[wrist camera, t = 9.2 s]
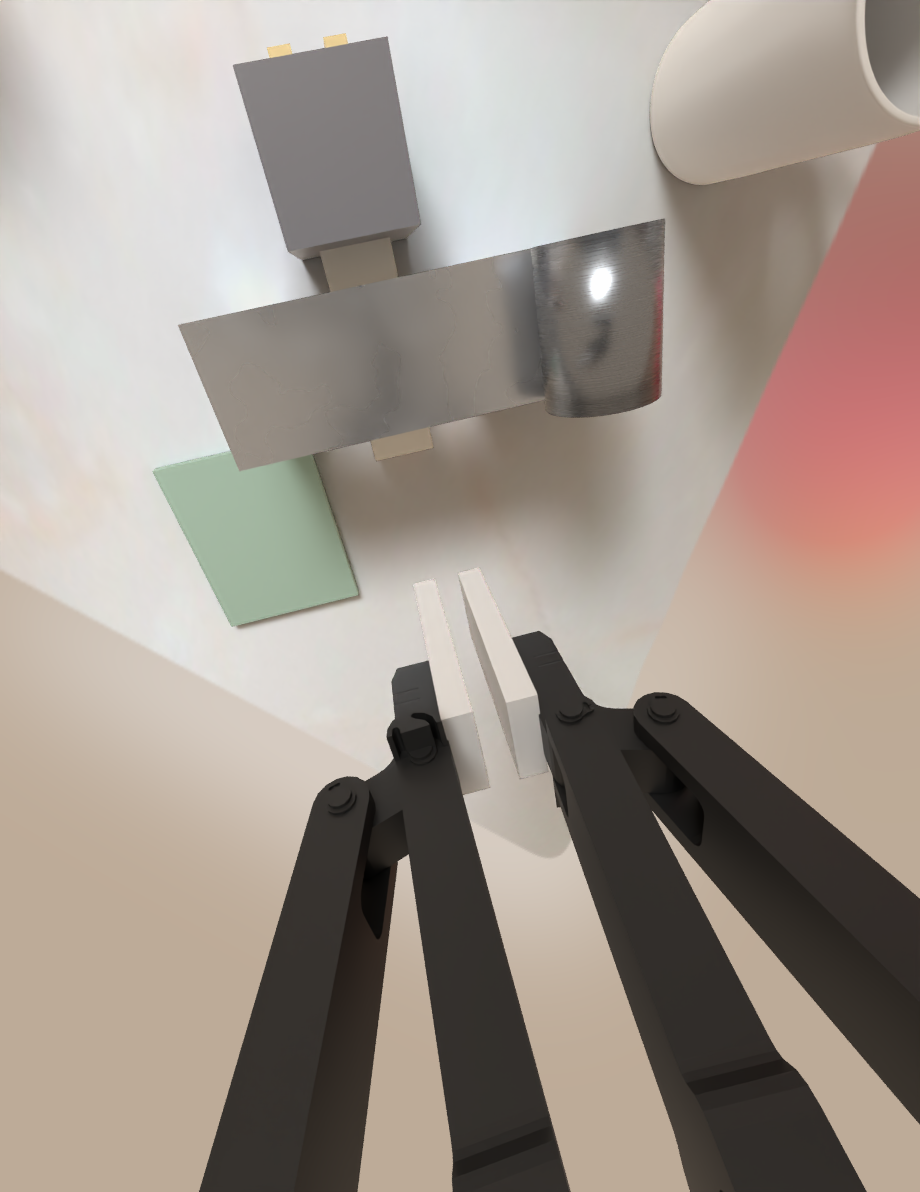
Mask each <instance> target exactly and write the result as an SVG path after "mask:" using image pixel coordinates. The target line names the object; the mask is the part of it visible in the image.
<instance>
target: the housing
mask: <svg viewBox="0 0 920 1192" xmlns="http://www.w3.org/2000/svg"><path fill="white" fill-rule="evenodd" d="M664 240H665V219H661V220H656V221H651V222H646V223H641V224H637V225H632V226H627V227H623V228H618V229H614V230H609V231H605V232H600V233H595V234H591V235H586V236H582V237H577V238H573V239H568V240H564V241H559V242H555V243H551V244H546V245H542V246H538V247H533V248H531V249H526V250H522V251H517V252H513V253H508V254H503V255H499V256H494V257H490V258H485V259H480V260H476V261H471V262H467V263H462V264H457V265H453V266H448V267H443V268H439V269H434V270H430V271H425V272H420V273H416V274H411V275H407V276H402V277H397V278H393V279H388V280H384V281H379V282H374V283H370V284H365V285H360V286H356V287H351V288H347V289H342V290H337V291H333V292H328V293H324V294H319V295H314V296H310V297H305V298H301V299H296V300H291V301H287V302H282V303H277V304H273V305H268V306H264V307H259V308H254V309H250V310H245V311H241V312H236V313H231V314H227V315H222V316H217V317H213V318H208V319H204V320H199V321H194V322H190V323H185V324H181V325H178V326H179V329H180V331H181V333H182V336H183V338H184V341H185V343H186V345H187V348H188V350H189V353H190V355H191V357H192V360H193V362H194V364H195V367H196V369H197V372H198V374H199V376H200V379H201V381H202V384H203V386H204V388H205V391H206V393H207V395H208V398H209V400H210V403H211V405H212V407H213V410H214V412H215V415H216V417H217V419H218V422H219V424H220V426H221V429H222V431H223V434H224V436H225V438H226V441H227V443H228V446H229V448H230V450H231V453H232V455H233V457H234V460H235V462H236V465H237V467H238V469H239V471H243V470H248V469H252V468H256V467H260V466H265V465H269V464H273V463H277V462H282V461H286V460H290V459H295V458H299V457H303V456H307V455H312V454H316V453H320V452H324V451H329V450H333V449H337V448H342V447H346V446H350V445H354V444H359V443H363V442H367V441H371V440H376V439H380V438H384V437H389V436H393V435H397V434H401V433H406V432H410V431H414V430H418V429H423V428H427V427H431V426H436V425H440V424H444V423H448V422H453V421H457V420H461V419H465V418H470V417H474V416H478V415H483V414H487V413H491V412H495V411H500V410H504V409H508V408H512V407H517V406H521V405H525V404H530V403H534V402H538V401H542V400H545V407H546V411H547V412H548V413H549V414H552V415H555V416H560V417H595V416H604V415H611V414H616V413H621V412H626V411H630V410H634V409H637V408H640V407H643V406H646V405H648V404H650V403H653V402H654V401H656V400H657V399H659V398H660V397H661V394H662V343H663V292H664Z"/></svg>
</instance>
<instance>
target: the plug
mask: <svg viewBox="0 0 920 1192" xmlns="http://www.w3.org/2000/svg"><path fill="white" fill-rule="evenodd" d="M323 39H324V47H325V48H322V49H317V50H311V51H306V52H301V53H295V54H292V51H291V47H290V44H285V45H279V46H274V47H268V48H267V50H268V53H269V57H270V58H268V59H263V60H257V61H252V62H246V63H241V64H235V65H233V68H234V71H235V75H236V78H237V81H238V85H239V88H240V91H241V95H242V98H243V102H244V105H245V108H246V112H247V115H248V118H249V122H250V125H251V129H252V132H253V135H254V139H255V142H256V145H257V149H258V152H259V156H260V159H261V162H262V166H263V169H264V172H265V176H266V179H267V183H268V186H269V189H270V193H271V196H272V199H273V203H274V206H275V210H276V213H277V216H278V220H279V223H280V226H281V230H282V233H283V237H284V240H285V243H286V247H287V250H288V252H289V253H291V254H293V255H294V256H296V257H297V258H299V259H301V260H305V259H310V258H315V257H319V256H321V259H322V263H323V267H324V271H325V274H326V278H327V282H328V285H329V289H330V292H333V291H337V290H342V289H347V288H351V287H356V286H360V285H365V284H370V283H374V282H379V281H384V280H388V279H393V278H397V277H398V274H397V269H396V264H395V259H394V255H393V250H392V245H391V242H392V241H396V240H401V239H406V238H408V237H409V236H410V235H411V234H412V233H413V232H414V231H415V230H416V229H417V228H418V227H419V226H420V225H421V221H420V216H419V210H418V204H417V199H416V193H415V188H414V182H413V177H412V171H411V165H410V160H409V154H408V149H407V143H406V138H405V132H404V126H403V121H402V115H401V110H400V104H399V98H398V93H397V87H396V82H395V76H394V71H393V65H392V59H391V54H390V48H389V43H388V37H382V38H377V39H371V40H366V41H360V42H355V43H349V44H348V42H347V37H346V33H345V34H339V35H334V36H328V37H323ZM371 445H372V449H373V452H374V456H375V460H376V461H380V460H384V459H388V458H393V457H397V456H401V455H406V454H410V453H414V452H419V451H423V450H427V449H431V448H434V447H433V443H432V438H431V433H430V428H429V427H427V428H423V429H418V430H414V431H410V432H406V433H401V434H397V435H393V436H389V437H384V438H380V439H376V440H371Z"/></svg>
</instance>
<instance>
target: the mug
mask: <svg viewBox="0 0 920 1192" xmlns="http://www.w3.org/2000/svg"><path fill="white" fill-rule="evenodd" d="M650 124H651V132H652V137H653V141H654V145H655V148H656V150H657V153H658V155H659V157H660V159H661V161H662V162H663V164H664V165H665V167H666V168H667V169H668V170H669V171H670V172H671V173H672V174H673V175H674V176H675V177H677V178H678V179H680V180H682V181H684V182H687V183H690V184H695V185H707V184H713V183H717V182H722V181H726V180H731V179H735V178H740V177H744V176H749V175H752V174H756V173H760V172H764V171H768V170H772V169H775V168H779V167H783V166H787V165H791V164H795V163H799V162H803V161H807V160H811V159H815V158H819V157H823V156H827V155H831V154H835V153H839V152H843V151H847V150H851V149H855V148H859V147H863V146H867V145H871V144H875V143H879V142H883V141H887V140H890V139H894V138H897V137H901V136H904V135H907V134H911V133H914V132H917V131H920V0H709V1H708V2H707V3H706V4H705V5H704V6H703V7H701V8H700V9H699V10H698V11H697V12H696V13H695V14H694V15H692V16H691V17H690V18H689V19H688V20H687V21H686V22H685V23H684V24H683V25H682V27H681V28H680V29H679V30H678V32H677V33H676V34H675V36H674V37H673V39H672V40H671V42H670V43H669V45H668V47H667V49H666V51H665V53H664V55H663V57H662V59H661V61H660V64H659V67H658V69H657V73H656V76H655V79H654V84H653V88H652V94H651V103H650Z"/></svg>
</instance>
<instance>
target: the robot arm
mask: <svg viewBox="0 0 920 1192" xmlns="http://www.w3.org/2000/svg"><path fill="white" fill-rule="evenodd" d="M458 576H459V581H460V586H461V590H462V595H463V600H464V604H465V609H466V614H467V619H468V623H469V628H470V633H471V637H472V640H473V643H474V646H475V649H476V652H477V655H478V658H479V660H480V663H481V666H482V669H483V672H484V675H485V678H486V681H487V684H488V687H489V690H490V693H491V695H492V698H493V701H494V704H495V707H496V710H497V713H498V716H499V719H500V722H501V725H502V728H503V731H504V733H505V736H506V739H507V742H508V745H509V748H510V751H511V754H512V757H513V760H514V763H515V766H516V769H517V771H518V774H519V777H520V779H523V778H527V777H530V776H534V775H538V774H541V773H545V772H548V766H547V763H548V765H549V767H550V770H551V772H552V775H553V782H554V789H555V797H556V804H557V807H561V809H562V812H563V815H564V818H565V820H566V823H567V826H568V829H569V832H570V835H571V838H572V841H573V843H574V846H575V849H576V852H577V855H578V857H579V861H580V864H581V866H582V869H583V872H584V875H585V878H586V881H587V884H588V886H589V889H590V892H591V895H592V898H593V901H594V904H595V907H596V909H597V912H598V915H599V918H600V921H601V924H602V926H603V929H604V932H605V935H606V938H607V941H608V944H609V947H610V950H611V952H612V955H613V958H614V961H615V964H616V967H617V970H618V972H619V975H620V978H621V981H622V984H623V987H624V990H625V993H626V995H627V998H628V1001H629V1004H630V1007H631V1010H632V1012H633V1016H634V1018H635V1021H636V1024H637V1027H638V1030H639V1033H640V1036H641V1039H642V1041H643V1044H644V1047H645V1050H646V1053H647V1056H648V1059H649V1061H650V1064H651V1067H652V1070H653V1073H654V1076H655V1079H656V1082H657V1084H658V1087H659V1090H660V1093H661V1096H662V1099H663V1102H664V1104H665V1107H666V1110H667V1113H668V1116H669V1119H670V1122H671V1125H672V1127H673V1131H674V1134H675V1137H676V1141H677V1144H678V1149H679V1152H680V1157H681V1161H682V1165H683V1169H684V1173H685V1176H686V1179H687V1183H688V1186H689V1189H690V1192H866V1190H865V1188H864V1186H863V1184H862V1182H861V1180H860V1179H859V1177H858V1175H857V1173H856V1171H855V1169H854V1167H853V1166H852V1164H851V1162H850V1160H849V1158H848V1156H847V1154H846V1153H845V1151H844V1149H843V1147H842V1145H841V1143H840V1141H839V1139H838V1138H837V1136H836V1134H835V1132H834V1130H833V1128H832V1126H831V1125H830V1123H829V1121H828V1119H827V1117H826V1115H825V1113H824V1112H823V1110H822V1108H821V1106H820V1104H819V1103H818V1101H817V1099H816V1098H815V1096H814V1094H813V1093H812V1091H811V1089H810V1088H809V1086H808V1084H807V1083H806V1082H805V1081H804V1079H803V1078H802V1076H801V1075H800V1074H799V1072H798V1071H797V1070H796V1069H795V1068H794V1067H792V1066H791V1065H790V1064H789V1063H788V1062H786V1061H785V1060H784V1059H783V1058H782V1057H781V1055H780V1054H779V1053H778V1052H777V1050H776V1048H775V1047H774V1045H773V1043H772V1042H771V1040H770V1038H769V1036H768V1034H767V1032H766V1030H765V1028H764V1026H763V1024H762V1022H761V1020H760V1018H759V1017H758V1015H757V1013H756V1011H755V1009H754V1007H753V1005H752V1003H751V1001H750V1000H749V997H748V995H747V993H746V992H745V990H744V988H743V986H742V984H741V982H740V980H739V978H738V976H737V974H736V972H735V970H734V968H733V966H732V964H731V963H730V961H729V959H728V957H727V955H726V953H725V951H724V949H723V947H722V945H721V943H720V941H719V939H718V938H717V936H716V934H715V932H714V930H713V928H712V926H711V924H710V922H709V920H708V918H707V916H706V914H705V913H704V911H703V909H702V907H701V905H700V903H699V901H698V899H697V897H696V895H695V893H694V892H693V890H692V887H691V885H690V884H689V882H688V880H687V878H686V876H685V874H684V872H683V870H682V868H681V866H680V864H679V863H678V860H677V858H676V857H675V855H674V853H673V851H672V849H671V847H670V845H669V843H668V841H667V839H666V837H665V835H664V834H663V832H662V830H661V828H660V826H659V824H658V822H657V820H656V818H655V816H654V814H653V812H654V813H655V814H656V816H657V817H658V818H659V819H660V820H661V821H662V823H663V824H664V825H665V826H666V827H667V828H668V830H669V831H670V832H671V833H672V834H673V836H674V837H675V838H676V839H677V840H678V841H679V842H680V844H681V845H682V846H683V847H684V848H685V850H686V851H687V852H688V853H689V854H690V855H691V857H692V858H693V859H694V860H695V861H696V862H697V864H698V865H699V866H700V867H701V868H702V870H703V871H704V872H705V873H706V874H707V875H708V877H709V878H710V879H711V880H712V881H713V882H714V884H715V885H716V886H717V887H718V888H719V889H720V891H721V892H722V893H723V894H724V895H725V896H726V898H727V899H728V900H729V901H730V902H731V904H732V905H733V906H734V907H735V908H736V909H737V911H738V912H739V913H740V914H741V915H742V916H743V918H744V919H745V920H746V921H747V922H748V924H750V926H751V927H752V928H753V929H754V931H755V932H756V933H757V934H758V935H759V936H760V938H761V939H762V940H763V941H764V942H765V943H766V945H767V946H768V947H769V948H770V949H771V950H772V951H773V953H774V954H775V955H776V956H777V958H778V959H779V960H780V961H781V962H782V963H783V965H784V966H785V967H786V968H787V969H788V970H789V972H790V973H791V974H792V975H793V976H794V977H795V978H796V980H797V981H798V982H799V983H800V985H801V986H802V987H803V988H804V989H805V990H806V992H807V993H808V994H809V995H810V996H811V997H812V998H813V1000H814V1001H815V1002H816V1003H817V1004H818V1006H819V1007H820V1008H821V1009H822V1010H823V1011H824V1013H825V1014H826V1015H827V1016H828V1017H829V1019H830V1020H831V1021H832V1022H833V1023H834V1024H835V1026H836V1027H837V1028H838V1029H839V1030H840V1031H841V1033H842V1034H843V1035H844V1036H845V1037H846V1038H847V1040H848V1041H849V1042H850V1043H851V1044H852V1046H853V1047H854V1048H855V1049H856V1050H857V1051H858V1052H859V1054H860V1055H861V1056H862V1057H863V1058H864V1060H865V1061H866V1062H867V1063H868V1064H869V1065H870V1067H871V1068H872V1069H873V1070H874V1071H875V1072H876V1073H877V1075H878V1076H879V1077H880V1078H881V1080H883V1082H884V1083H885V1084H886V1085H887V1087H888V1088H889V1089H890V1090H891V1091H892V1092H893V1093H894V1095H895V1096H896V1097H897V1098H898V1099H899V1101H901V1103H902V1104H903V1105H904V1106H905V1108H906V1109H907V1110H908V1111H909V1112H910V1114H911V1115H912V1116H913V1117H914V1118H915V1119H916V1121H917V1122H918V1123H919V1124H920V898H918V897H917V896H916V895H915V894H914V893H912V892H911V891H910V890H909V889H908V888H906V887H905V886H904V885H903V884H902V883H901V882H899V881H898V880H897V879H896V878H895V877H893V876H892V875H891V874H890V873H889V872H887V871H886V870H885V869H884V868H883V867H882V866H881V865H879V864H878V863H877V862H875V860H873V859H872V858H871V857H870V856H869V855H868V854H866V853H865V852H864V851H863V850H862V849H860V848H859V847H858V846H857V845H856V844H855V843H853V842H852V841H851V840H850V839H849V838H847V837H846V836H845V835H844V834H843V833H842V832H840V831H839V830H838V829H837V828H836V827H834V826H833V825H832V824H831V823H830V822H828V821H827V820H826V819H825V818H824V817H823V816H821V815H820V814H819V813H818V812H817V811H815V810H814V809H813V808H812V807H811V806H810V805H808V804H807V803H806V802H805V801H803V800H802V799H801V798H800V797H799V796H798V795H797V794H795V793H794V792H793V791H792V790H790V789H789V788H788V787H787V786H786V785H785V784H783V783H782V782H781V781H780V780H779V779H778V778H776V777H775V776H774V775H773V774H771V772H769V771H768V770H767V769H766V768H764V767H763V766H762V765H761V764H760V763H759V762H758V761H756V760H755V759H754V758H753V757H752V756H750V755H749V754H748V753H747V752H746V751H744V750H743V749H742V748H741V747H740V746H738V745H737V744H736V743H735V742H734V741H733V740H731V739H730V738H729V737H728V736H727V735H726V734H724V733H723V732H722V731H721V730H720V729H718V728H717V727H716V726H715V725H714V724H713V723H711V722H710V721H709V720H708V719H707V718H705V717H704V716H703V715H702V714H701V713H699V712H698V711H697V710H696V709H695V708H694V707H692V706H691V705H690V704H689V703H688V702H687V701H685V700H683V699H682V698H680V697H678V696H676V695H673V694H669V693H659V692H654V693H651V694H647V695H644V696H643V697H641V698H640V699H638V700H637V702H636V704H635V705H634V709H613V708H605V707H601V706H598V705H596V704H595V703H594V702H593V701H592V700H591V699H589V698H587V697H585V696H584V695H583V694H582V692H581V690H580V689H579V687H578V685H577V683H576V681H575V680H574V678H573V676H572V674H571V673H570V671H569V669H568V667H567V666H566V664H565V662H564V661H563V659H562V657H561V655H560V653H559V652H558V650H557V648H556V646H555V645H554V643H553V641H552V639H551V638H549V637H548V636H546V635H545V634H543V633H542V632H540V631H537V632H533V633H529V634H525V635H521V636H517V637H513V638H511V635H510V633H509V631H508V629H507V627H506V624H505V622H504V620H503V618H502V616H501V614H500V611H499V609H498V607H497V605H496V603H495V600H494V598H493V596H492V594H491V592H490V589H489V587H488V585H487V583H486V581H485V579H484V576H483V574H482V572H481V570H480V568H475V569H471V570H467V571H463V572H459V573H458ZM413 586H414V591H415V596H416V601H417V606H418V611H419V615H420V620H421V625H422V630H423V635H424V640H425V645H426V649H427V654H428V659H429V661H425V662H421V663H417V664H413V665H409V666H405V667H402V668H398V669H397V670H396V673H395V675H394V677H393V679H392V692H393V702H394V712H395V720H393V721H392V723H391V724H390V726H389V728H388V730H387V740H388V743H389V746H390V749H391V751H392V754H393V757H394V759H393V760H392V762H391V763H390V764H389V765H388V766H387V767H386V768H385V769H384V770H383V771H381V772H380V773H378V774H377V775H375V776H373V777H372V778H370V779H368V780H366V781H363V780H361V779H359V778H358V777H348V776H347V777H343V778H339V779H336V780H334V781H333V782H331V783H329V784H327V785H326V786H325V787H324V788H323V789H322V790H321V791H320V792H319V793H318V795H317V797H316V799H315V801H314V803H313V806H312V809H311V813H310V816H309V820H308V823H307V826H306V830H305V833H304V836H303V840H302V843H301V847H300V851H299V854H298V857H297V860H296V864H295V867H294V870H293V874H292V877H291V881H290V884H289V888H288V891H287V894H286V898H285V901H284V904H283V908H282V911H281V915H280V918H279V921H278V925H277V928H276V932H275V935H274V939H273V942H272V945H271V949H270V952H269V956H268V959H267V962H266V966H265V970H264V973H263V976H262V980H261V983H260V987H259V990H258V993H257V997H256V1000H255V1003H254V1007H253V1010H252V1014H251V1017H250V1020H249V1024H248V1027H247V1030H246V1034H245V1038H244V1041H243V1044H242V1047H241V1051H240V1054H239V1058H238V1062H237V1065H236V1068H235V1071H234V1075H233V1079H232V1082H231V1085H230V1088H229V1092H228V1095H227V1099H226V1102H225V1105H224V1109H223V1112H222V1116H221V1119H220V1122H219V1126H218V1129H217V1133H216V1136H215V1139H214V1143H213V1146H212V1150H211V1154H210V1157H209V1160H208V1163H207V1167H206V1170H205V1173H204V1177H203V1181H202V1184H201V1187H200V1191H199V1192H357V1191H358V1190H357V1189H358V1182H359V1173H360V1165H361V1158H362V1149H363V1141H364V1134H365V1125H366V1117H367V1109H368V1101H369V1093H370V1085H371V1077H372V1069H373V1060H374V1052H375V1044H376V1036H377V1028H378V1020H379V1012H380V1003H381V994H382V987H383V979H384V971H385V963H386V955H387V946H388V938H389V930H390V922H391V914H392V906H393V898H394V889H395V882H396V873H397V865H398V862H397V861H399V860H400V859H402V858H403V857H405V856H407V855H408V854H409V858H410V865H411V871H412V879H413V885H414V892H415V899H416V905H417V912H418V919H419V926H420V933H421V940H422V946H423V953H424V960H425V967H426V974H427V980H428V987H429V994H430V1000H431V1007H432V1014H433V1020H434V1028H435V1035H436V1042H437V1048H438V1055H439V1062H440V1069H441V1075H442V1082H443V1089H444V1095H445V1102H446V1110H447V1116H448V1123H449V1130H450V1137H451V1144H452V1152H453V1172H452V1186H453V1192H571V1191H570V1188H569V1184H568V1180H567V1177H566V1173H565V1169H564V1166H563V1162H562V1159H561V1155H560V1151H559V1147H558V1144H557V1140H556V1136H555V1133H554V1129H553V1126H552V1122H551V1118H550V1114H549V1111H548V1107H547V1104H546V1100H545V1096H544V1093H543V1089H542V1085H541V1081H540V1078H539V1074H538V1070H537V1067H536V1063H535V1059H534V1056H533V1052H532V1048H531V1045H530V1041H529V1037H528V1033H527V1030H526V1026H525V1023H524V1019H523V1015H522V1011H521V1008H520V1004H519V1000H518V997H517V993H516V989H515V986H514V982H513V978H512V975H511V971H510V967H509V964H508V960H507V956H506V953H505V949H504V945H503V942H502V938H501V934H500V931H499V927H498V924H497V920H496V916H495V912H494V909H493V905H492V901H491V898H490V894H489V890H488V887H487V883H486V879H485V876H484V872H483V868H482V864H481V861H480V857H479V853H478V850H477V846H476V843H475V839H474V835H473V832H472V828H471V824H470V820H469V817H468V813H467V809H466V806H465V802H464V798H463V795H465V794H468V793H472V792H476V791H479V790H483V789H487V788H490V783H489V779H488V775H487V770H486V766H485V762H484V757H483V753H482V749H481V745H480V740H479V736H478V732H477V727H476V723H475V719H474V715H473V710H472V707H471V703H470V700H469V696H468V693H467V689H466V686H465V682H464V679H463V675H462V672H461V668H460V665H459V661H458V658H457V654H456V651H455V647H454V644H453V640H452V637H451V633H450V630H449V626H448V623H447V619H446V616H445V612H444V609H443V605H442V602H441V598H440V595H439V591H438V588H437V584H436V581H435V579H431V580H427V581H422V582H418V583H414V584H413ZM652 811H653V812H652Z"/></svg>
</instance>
